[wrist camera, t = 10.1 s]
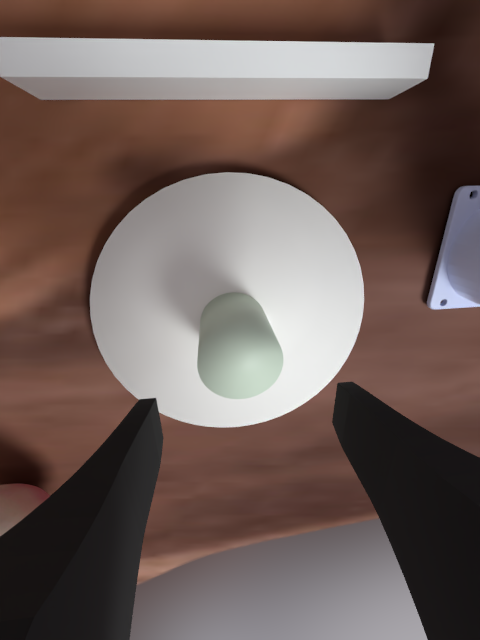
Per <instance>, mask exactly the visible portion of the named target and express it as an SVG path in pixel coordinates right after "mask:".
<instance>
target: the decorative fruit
mask: <svg viewBox="0 0 480 640" xmlns="http://www.w3.org/2000/svg"><path fill="white" fill-rule="evenodd" d="M49 497H50V495H49V494H48V493H47V492H45V491H44V490H43V489H41V488H39V487H37V486H33V485H29V484H21V483H15V484H4V485H0V536H2V535H3V534H4V533H6V532H7V531H8V530H9V529H11V528H12V527H13V526H15V525H16V524H17V523H19V522H20V521H21V520H22V519H23V518H25V517H26V516H27V515H28V514H29V513H31V512H32V511H33V510H34V509H35V508H37V507H38V506H39V505H40V504H41V503H43V502H44V501H45V500H46V499H47V498H49Z"/></svg>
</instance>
